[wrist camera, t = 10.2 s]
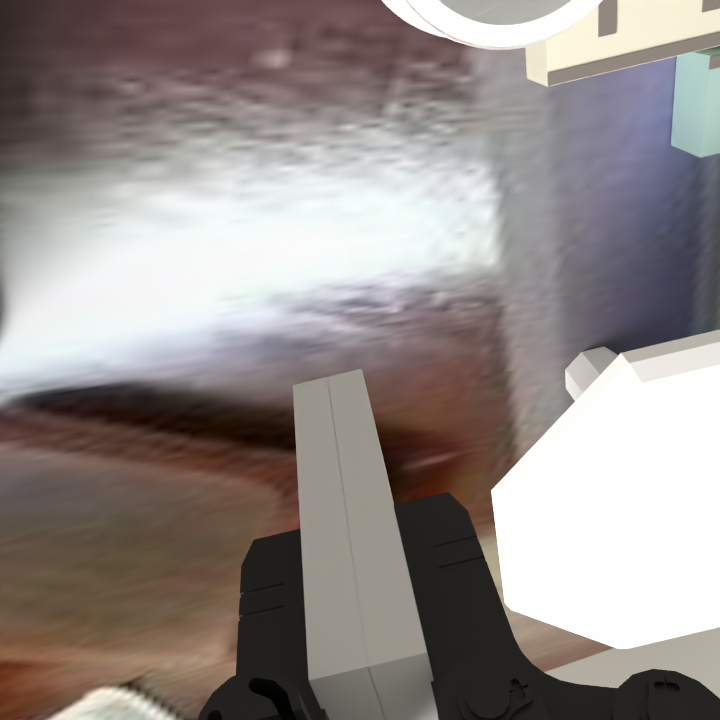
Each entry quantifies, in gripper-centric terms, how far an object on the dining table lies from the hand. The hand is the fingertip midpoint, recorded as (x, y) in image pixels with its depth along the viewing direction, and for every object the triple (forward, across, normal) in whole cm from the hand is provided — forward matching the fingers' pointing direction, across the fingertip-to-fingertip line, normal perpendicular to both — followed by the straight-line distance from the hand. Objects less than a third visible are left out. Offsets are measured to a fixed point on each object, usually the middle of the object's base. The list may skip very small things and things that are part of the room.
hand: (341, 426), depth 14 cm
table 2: (+31, +19, -24) cm, 43 cm away
